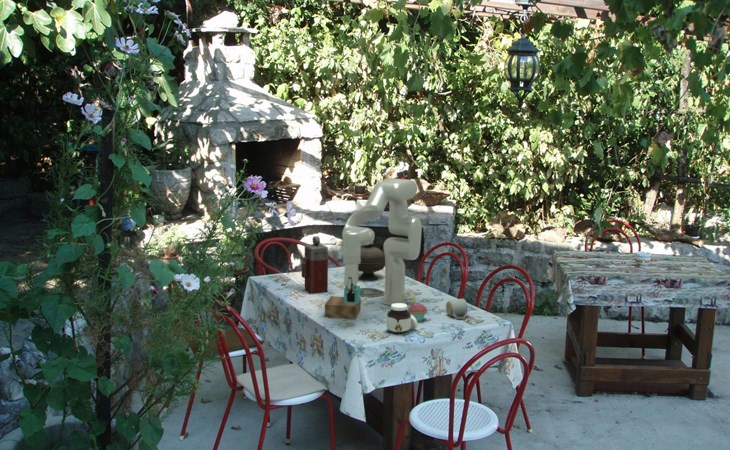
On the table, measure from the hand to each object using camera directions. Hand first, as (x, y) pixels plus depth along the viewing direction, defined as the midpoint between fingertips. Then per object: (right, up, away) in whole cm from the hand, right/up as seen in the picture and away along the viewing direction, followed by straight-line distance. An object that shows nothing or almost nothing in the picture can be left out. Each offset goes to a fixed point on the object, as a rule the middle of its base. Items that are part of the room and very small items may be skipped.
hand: (352, 298), depth 337 cm
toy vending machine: (-20, -1, +53) cm, 57 cm away
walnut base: (-4, -8, +16) cm, 18 cm away
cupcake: (+29, -10, +9) cm, 32 cm away
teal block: (0, -1, 0) cm, 1 cm away
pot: (+7, +3, +80) cm, 80 cm away
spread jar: (+21, -13, -7) cm, 26 cm away
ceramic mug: (+48, -10, +15) cm, 51 cm away
